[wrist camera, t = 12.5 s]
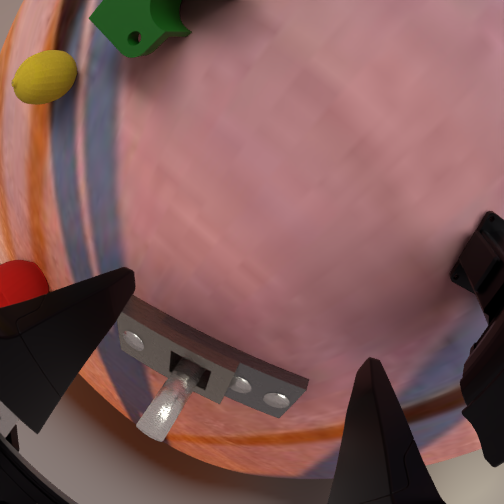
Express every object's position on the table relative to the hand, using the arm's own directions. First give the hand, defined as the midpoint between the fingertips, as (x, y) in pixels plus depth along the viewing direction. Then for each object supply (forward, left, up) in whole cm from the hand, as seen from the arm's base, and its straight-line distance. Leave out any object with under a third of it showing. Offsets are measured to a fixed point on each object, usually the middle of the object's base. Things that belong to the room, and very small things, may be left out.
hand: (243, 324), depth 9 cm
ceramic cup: (+39, +32, -13) cm, 52 cm away
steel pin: (+5, +23, -13) cm, 27 cm away
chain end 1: (+8, +23, -13) cm, 28 cm away
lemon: (+26, -6, -13) cm, 30 cm away
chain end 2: (+1, +23, -13) cm, 27 cm away
